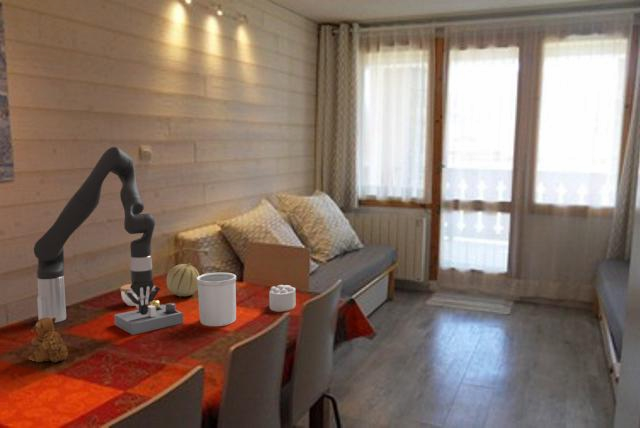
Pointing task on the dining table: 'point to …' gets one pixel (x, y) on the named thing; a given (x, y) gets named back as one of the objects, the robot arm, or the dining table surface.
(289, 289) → the lumpy-topped squat cylinder
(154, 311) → the matte white cuboid
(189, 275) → the cantaloupe
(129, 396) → the dining table surface
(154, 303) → the button brass
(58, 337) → the brown teddy bear
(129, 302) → the lidded jar
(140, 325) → the panel
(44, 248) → the robot arm
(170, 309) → the button dark gray
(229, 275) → the utensil holder
